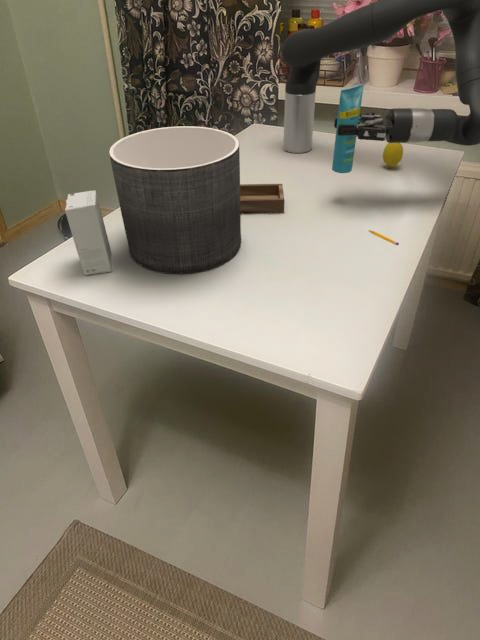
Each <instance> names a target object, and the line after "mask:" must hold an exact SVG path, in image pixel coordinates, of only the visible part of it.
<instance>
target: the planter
mask: <svg viewBox="0 0 480 640" xmlns="http://www.w3.org/2000/svg"><path fill="white" fill-rule="evenodd" d="M108 153H109V158H110V164H111V169H112V174H113V178H114V184H115V189H116V195H117V197H118V203H119V204H118V205H119V209H120V214H121V217H122V222H123V227H124V232H125V236H126V241H127V246H128V247H127V248H128V252H129V255H130V257H131V258H132V260H133V262H135V263H136V264H137V265H139V266H141V267H142V268H145V269H147V270H150V271H155V272H158V273H162V274H163V273H164V274H176V275H177V274H180V275H181V274H192V273H193V274H194V273H198V272H204V271H206V270H210V269H213V268H214V269H215V268H216V267H219V266H221V265H223V264H225V263H226V262H228V261H230V260H231V259H232V258H234V256H236V254H237V253H238V252H239V250H240V249H241V246H242V233H241V232H242V229H241V221H242V220H241V218H242V217H241V215H242V214H241V210H240V184H241V168H240V167H241V162H240V161H241V159H240V155H241V153H240V141H239V140H238V138H237V137H236V136H234V135H233V134H232V133H229V132H227V131H224V130H221V129H217V128H213V127H212V128H211V127H205V126H195V125H194V126H193V125H191V126H189V125H188V126H187V125H185V126H184V125H183V126H181V125H180V126H167V127H160V128H159V127H157V128H152V129H147V130H142V131H138V132H136V133H132V134H130V135H129V134H128V135H127V136H125V137H123V138H120V139H118V140H117V141H116V142H114V143H113V144H112V145H111V146H110V148H109V150H108Z"/></svg>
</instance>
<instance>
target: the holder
mask: <svg viewBox="0 0 480 640" xmlns="http://www.w3.org/2000/svg"><path fill="white" fill-rule="evenodd" d="M284 193H285V192H284V187H283V183H257V184H256V183H249V184H247V183H245V184H242V183H240V210H241V215H242V214H243V215H245V214H246V215H247V214H250V215H254V214H258V215H259V214H284V213H285V195H284Z"/></svg>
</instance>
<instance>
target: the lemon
mask: <svg viewBox="0 0 480 640" xmlns="http://www.w3.org/2000/svg"><path fill="white" fill-rule="evenodd" d="M403 155H404V147H403V144H402V143H388V142H387V144H386V145H385V147H384V149H383V153H382V161H383V163H384V164H385V165H387V166H388V167H389V168H390V169H391V168H393V167H395V166H397V165H398V164H400V162H402V159H403Z"/></svg>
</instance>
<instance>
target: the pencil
mask: <svg viewBox="0 0 480 640" xmlns="http://www.w3.org/2000/svg"><path fill="white" fill-rule="evenodd" d="M368 232H369V233H371V234H373V235H374V236H377V237H378V238H380V239H383V240H385V241H386V242H389V243H391V244H393V245H395V246H399V244H400V243H399V242H397V241H395V240H393V239H392V238H390V237H388V236H385V235H384V234H381V233H379V232H377V231H375V230H370V229H369V230H368Z"/></svg>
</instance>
